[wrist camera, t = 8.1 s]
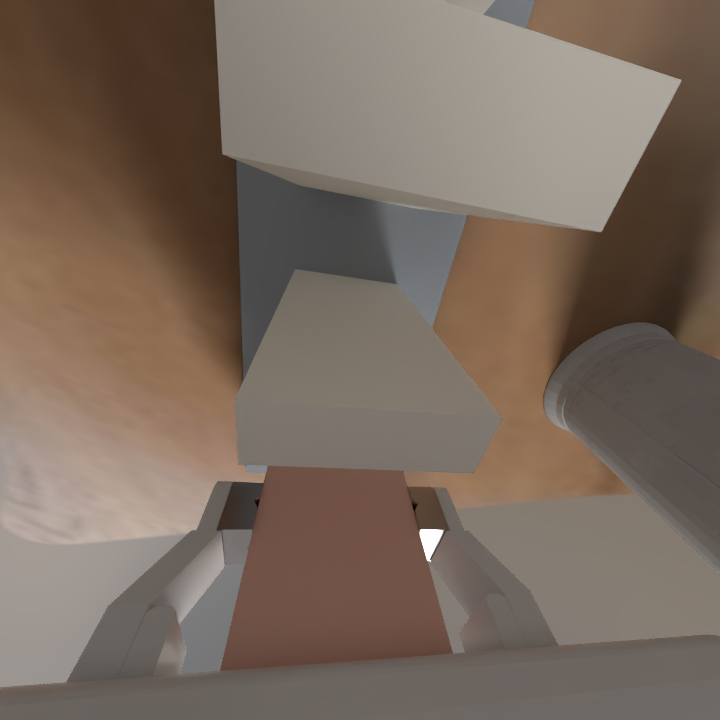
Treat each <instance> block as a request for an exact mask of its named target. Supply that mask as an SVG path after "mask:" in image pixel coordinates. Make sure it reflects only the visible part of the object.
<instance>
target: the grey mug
mask: <svg viewBox="0 0 720 720" xmlns="http://www.w3.org/2000/svg"><path fill="white" fill-rule="evenodd" d="M543 406H544V411H545V413H546V415H547V417H548V419H549V420H550V421H551V422H552V423H553V424H555V425H557V426H558V427H560V428H562V429H565V430H568V431H570V432H571V433H573V434H574V435H575V436H576V437H577V438H578V439H579V440H581V441H582V442H583V443H584V444H585V445H586V446H587V447H588V448H589V449H590V450H591V451H592V452H593V453H594V454H595V455H596V456H597V457H598V458H599V459H600V460H601V461H602V462H603V463H604V464H605V465H606V466H607V467H608V468H610V469H611V470H612V471H613V472H614V473H615V474H616V475H617V476H618V477H619V478H620V479H621V480H622V481H623V482H624V483H625V484H626V485H627V486H628V487H629V488H630V489H631V490H632V491H633V492H634V493H635V494H636V495H637V496H639V497H640V498H641V499H642V500H643V501H644V502H645V503H646V504H647V505H648V506H649V507H650V508H651V509H652V510H653V511H654V512H655V513H656V514H657V515H658V516H659V517H660V518H661V519H662V520H663V521H664V522H665V523H666V524H668V525H669V526H670V527H671V528H672V529H673V530H674V531H675V532H676V533H677V534H678V535H679V536H680V537H681V538H682V539H683V540H684V541H685V542H686V543H687V544H688V545H689V546H690V547H691V548H692V549H693V550H695V551H696V552H697V553H698V554H699V555H700V556H701V557H702V558H703V559H704V560H705V561H706V562H707V563H708V564H709V565H710V566H711V567H712V568H713V569H714V570H715V571H716V572H717V573H719V575H720V360H719V359H716V358H714V357H711V356H709V355H707V354H704V353H702V352H699V351H697V350H695V349H692V348H690V347H687V346H685V345H683V344H680V343H679V342H678V341H676V340H675V338H674V337H673V336H672V335H671V334H670V333H669V332H668V331H667V330H666V329H664V328H662V327H660V326H658V325H656V324H652V323H647V322H634V323H628V324H622V325H619V326H616V327H613V328H610V329H607V330H605V331H603V332H601V333H599V334H597V335H595V336H593V337H592V338H590V339H588V340H586V341H585V342H584V343H582V344H581V345H580V346H578V347H577V348H576V349H574V350H573V351H572V352H571V353H570V354H569V355H568V356H567V357H566V358H565V359H564V360H563V361H562V362H561V363H560V365H559V366H558V367H557V368H556V370H555V371H554V373H553V374H552V376H551V377H550V379H549V382H548V384H547V386H546V389H545V393H544V397H543Z"/></svg>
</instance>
